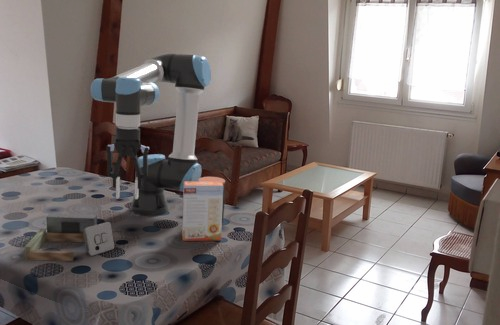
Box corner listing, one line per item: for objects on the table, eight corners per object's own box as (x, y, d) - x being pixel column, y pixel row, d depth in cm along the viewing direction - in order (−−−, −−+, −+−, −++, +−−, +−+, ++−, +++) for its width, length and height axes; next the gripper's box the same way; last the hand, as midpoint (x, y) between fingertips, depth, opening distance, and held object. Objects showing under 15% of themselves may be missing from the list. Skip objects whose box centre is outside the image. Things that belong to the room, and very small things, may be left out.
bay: (85, 240, 179) (85, 229, 178) (72, 260, 162) (72, 248, 161) (41, 239, 177) (41, 228, 176) (24, 259, 161) (24, 247, 160)
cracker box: (219, 235, 191) (222, 180, 187) (221, 241, 186) (224, 185, 181) (181, 235, 189) (183, 180, 184) (182, 241, 183) (184, 184, 179)
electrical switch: (90, 257, 166) (89, 229, 164) (81, 253, 169) (79, 226, 167) (115, 249, 173) (113, 222, 171) (105, 246, 176) (104, 220, 175)
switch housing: (97, 235, 183) (97, 214, 182) (94, 240, 179) (93, 218, 177) (50, 234, 182) (50, 212, 180) (46, 239, 177) (46, 217, 176)
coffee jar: (196, 219, 207) (198, 176, 203) (222, 220, 208) (225, 177, 204) (195, 228, 196) (197, 183, 192) (223, 229, 197) (225, 184, 193)
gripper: (158, 126, 167) (156, 195, 172) (100, 123, 165) (100, 193, 170) (156, 130, 159) (154, 202, 165) (95, 127, 158) (96, 200, 163)
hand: (127, 197), depth 167 cm, fingers open, 5 cm apart
